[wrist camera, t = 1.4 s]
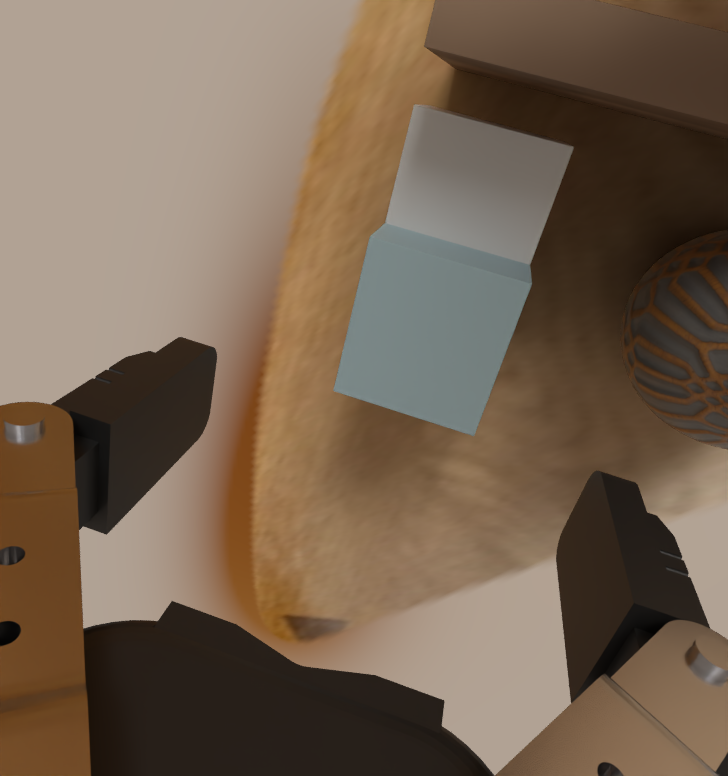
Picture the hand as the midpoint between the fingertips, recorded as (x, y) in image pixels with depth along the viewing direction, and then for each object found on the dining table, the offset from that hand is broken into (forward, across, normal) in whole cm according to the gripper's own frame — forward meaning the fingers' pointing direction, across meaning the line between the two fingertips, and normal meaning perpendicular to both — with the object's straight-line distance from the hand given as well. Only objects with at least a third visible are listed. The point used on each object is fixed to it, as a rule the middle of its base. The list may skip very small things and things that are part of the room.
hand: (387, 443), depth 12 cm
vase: (+14, -10, -2) cm, 17 cm away
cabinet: (+14, 0, -2) cm, 14 cm away
